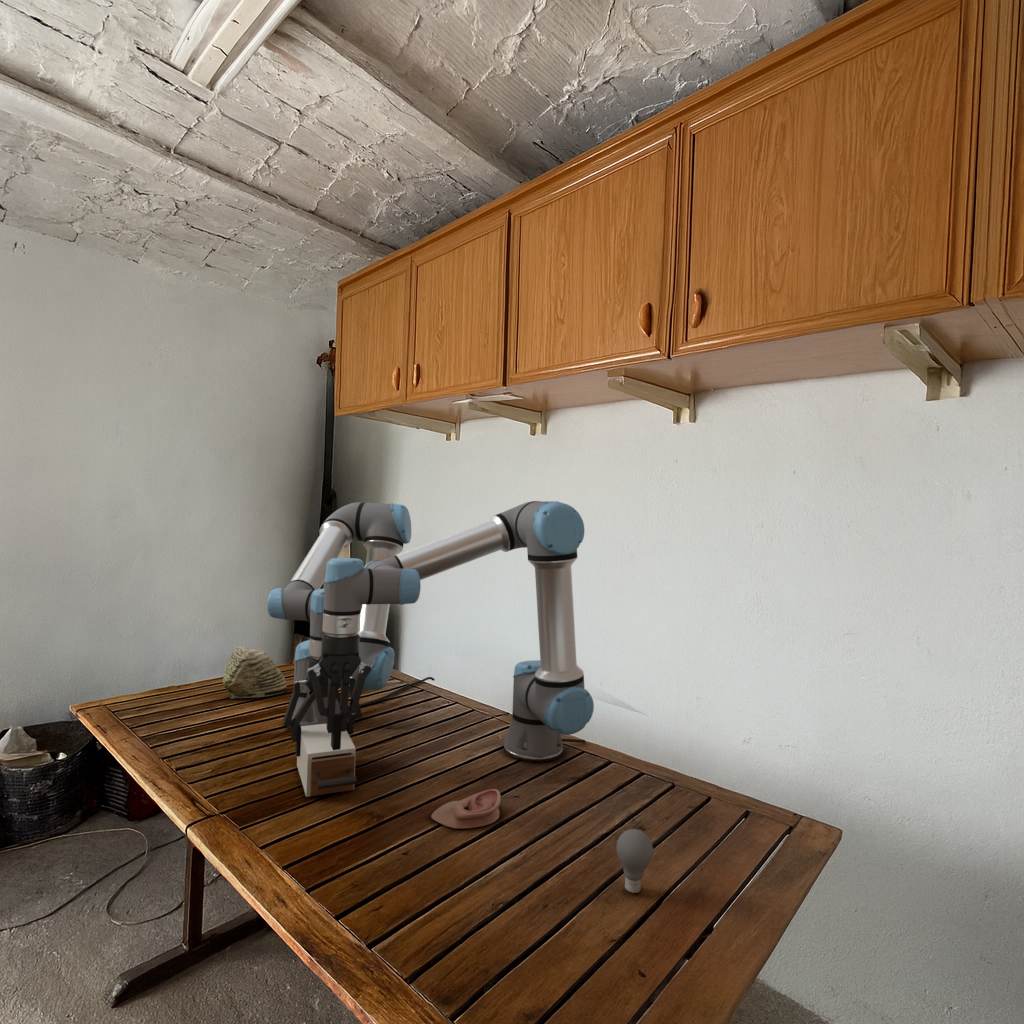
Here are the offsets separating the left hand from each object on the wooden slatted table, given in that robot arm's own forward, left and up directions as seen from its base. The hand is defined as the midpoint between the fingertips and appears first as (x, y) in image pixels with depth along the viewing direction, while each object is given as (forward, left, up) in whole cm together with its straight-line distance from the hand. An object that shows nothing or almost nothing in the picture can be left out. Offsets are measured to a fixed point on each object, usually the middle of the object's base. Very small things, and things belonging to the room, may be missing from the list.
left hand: (322, 751), depth 147 cm
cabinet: (+2, +4, -4) cm, 6 cm away
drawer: (+4, +9, -3) cm, 11 cm away
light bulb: (-8, +76, -4) cm, 77 cm away
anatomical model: (-7, +39, -4) cm, 40 cm away
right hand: (+8, +16, +8) cm, 20 cm away
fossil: (-17, -60, -4) cm, 63 cm away
